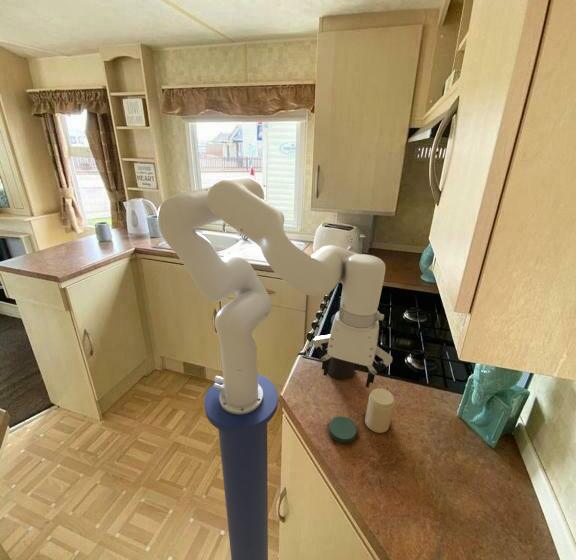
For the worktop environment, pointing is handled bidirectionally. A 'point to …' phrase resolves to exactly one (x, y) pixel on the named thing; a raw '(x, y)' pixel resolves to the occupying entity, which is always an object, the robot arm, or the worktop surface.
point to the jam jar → (379, 410)
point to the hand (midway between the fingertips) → (346, 377)
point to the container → (340, 366)
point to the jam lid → (342, 429)
